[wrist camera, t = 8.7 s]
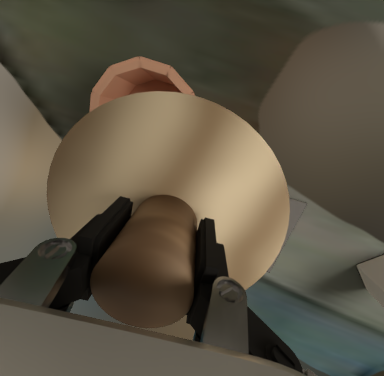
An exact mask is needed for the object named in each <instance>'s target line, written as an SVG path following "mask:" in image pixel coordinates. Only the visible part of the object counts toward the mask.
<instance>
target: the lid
mask: <svg viewBox="0 0 384 376" xmlns="http://www.w3.org/2000/svg"><path fill="white" fill-rule="evenodd" d="M120 196H122V197H126V198H130V201H132V202H133V207H132V214H131V217H130V219H129V220H128V222H127V223H126V224H125V226H124V227H123V228H122V230H121V231H120V233H119V234H118V235H117V237H116V238H115V239H114V241H113V242H112V244H111V245H110V246H109V248H108V249H107V250H106V252H105V253H104V255H103V256H102V257H101V259H100V260H99V262H98V263H97V264H96V266H95V267H94V269H93V271H92V274H91V278H90V287H91V292H92V295H93V297H94V299H95V301H96V302H97V304H98V305H99V306H100V307H101V308H102V309H103V310H104V311H105V312H106V313H107V314H108V315H110V316H111V317H113V318H115V319H116V320H118V321H121V322H122V323H125V324H128V325H131V326H135V327H141V328H158V327H163V326H167V325H171V324H173V323H175V322H177V321H178V320H180V319H181V318H183V317H184V316H185V315H186V314H187V312H188V311H189V310H190V308H191V306H192V303H193V298H194V277H195V259H196V241H197V230H198V226H199V223H200V220H201V219H204V218H205V217H206V218H210V219H214V222H215V231H216V241H217V243H220V244H223V245H224V249H225V255H226V262H227V268H228V274H229V278H232V279H234V280H236V281H237V282H238V283H240V284H241V286H242V287H243V288H244V290H246V289H247V288H249V287H250V286H251V285H253V284H254V283H255V282H256V281H257V280H259V279H260V278H261V277H262V276H263V275H264V274H265V272H266V271H267V270H268V269H269V267H270V266H271V265H272V264H273V262H274V260H275V259H276V257H277V255H278V254H279V252H280V250H281V247H282V245H283V243H284V240H285V237H286V233H287V229H288V224H289V215H290V204H289V193H288V188H287V184H286V180H285V177H284V174H283V171H282V169H281V166H280V164H279V162H278V161H277V159H276V157H275V155H274V153H273V152H272V150H271V149H270V147H269V146H268V145H267V143H266V142H265V141H264V139H263V138H262V137H261V136H260V135H259V134H258V133H257V132H256V131H255V130H254V129H253V128H252V127H251V126H250V125H249V124H248V123H247V122H245V121H244V120H243V119H241V118H240V117H239V116H237V115H236V114H234V113H233V112H232V111H230V110H228V109H226V108H224V107H222V106H220V105H218V104H216V103H214V102H211V101H209V100H206V99H203V98H200V97H197V96H193V95H188V94H183V93H178V92H165V91H152V92H142V93H135V94H131V95H127V96H123V97H119V98H116V99H114V100H112V101H109V102H107V103H105V104H102V105H100V106H99V107H97V108H96V109H94V110H93V111H91V112H89V113H88V114H86V115H85V116H84V117H83V118H82V119H81V120H79V121H78V122H77V123H76V124H75V125H74V126H73V127H72V128H71V130H70V131H69V132H68V133H67V135H66V136H65V137H64V138H63V140H62V142H61V144H60V145H59V147H58V149H57V151H56V153H55V155H54V158H53V161H52V163H51V166H50V171H49V176H48V181H47V202H48V210H49V215H50V219H51V223H52V225H53V228H54V231H55V233H56V236H57V238H67V239H70V238H71V237H73V236H74V235H75V234H76V233H77V232H78V231H79V230H80V229H81V228H82V227H84V226H85V225H86V224H87V223H88V222H89V221H90V220H91V219H92V218H93V217H95V216H96V215H97V214H102V213H103V212H104V211H105V210H106V209H107V208H108V207H109V206H110V205H111V204H112V203H113V202H114V201H116V200H117V199H118V198H119V197H120Z"/></svg>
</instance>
